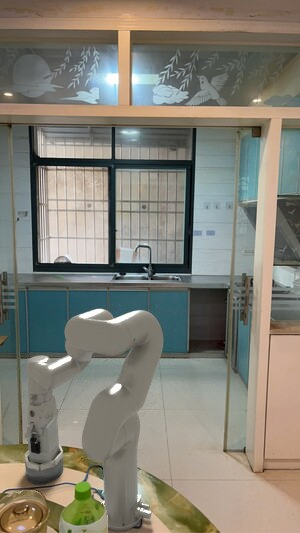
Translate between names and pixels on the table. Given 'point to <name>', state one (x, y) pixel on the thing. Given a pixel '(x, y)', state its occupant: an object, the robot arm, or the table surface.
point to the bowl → (44, 469)
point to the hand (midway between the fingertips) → (43, 444)
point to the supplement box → (46, 443)
